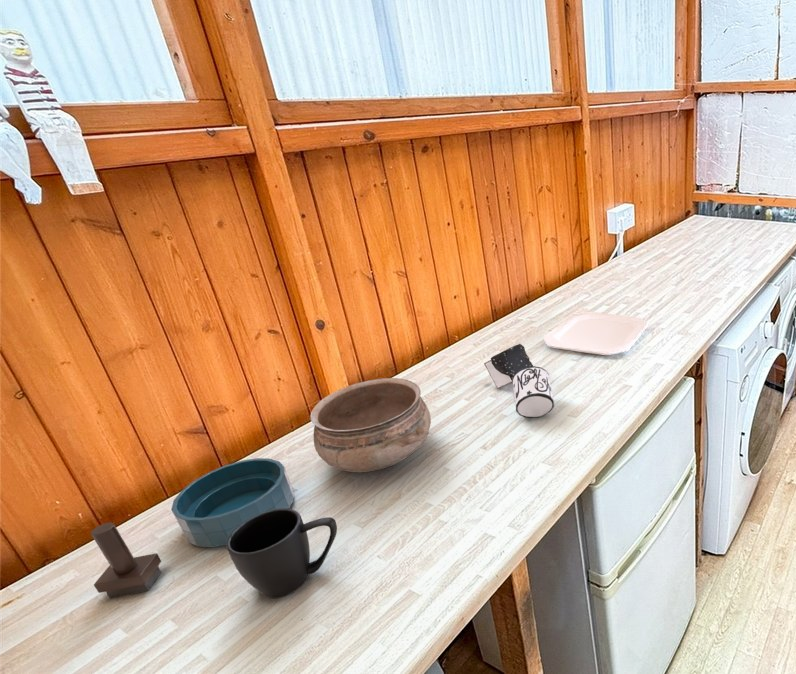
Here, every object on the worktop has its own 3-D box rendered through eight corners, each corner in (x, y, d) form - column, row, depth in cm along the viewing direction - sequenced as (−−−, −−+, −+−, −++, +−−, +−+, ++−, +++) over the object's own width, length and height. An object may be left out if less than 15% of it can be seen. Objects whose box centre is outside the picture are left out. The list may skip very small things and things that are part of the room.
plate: (623, 362, 131) (623, 355, 130) (536, 350, 138) (535, 342, 137) (652, 325, 152) (652, 318, 151) (576, 316, 159) (575, 309, 158)
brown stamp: (104, 601, 70) (66, 544, 65) (122, 577, 73) (88, 521, 69) (150, 592, 71) (116, 535, 66) (166, 569, 74) (135, 513, 70)
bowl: (167, 559, 76) (150, 529, 73) (213, 494, 88) (200, 466, 86) (277, 539, 79) (264, 509, 77) (306, 479, 92) (296, 452, 89)
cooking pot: (470, 444, 100) (460, 390, 95) (392, 509, 85) (375, 448, 79) (375, 417, 109) (361, 366, 104) (288, 472, 93) (267, 415, 88)
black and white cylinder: (568, 415, 109) (564, 374, 105) (523, 431, 104) (517, 388, 100) (523, 368, 128) (518, 332, 124) (483, 380, 123) (477, 342, 119)
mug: (343, 590, 71) (324, 538, 67) (240, 615, 67) (214, 562, 63) (354, 545, 78) (338, 496, 74) (262, 565, 75) (239, 515, 71)
